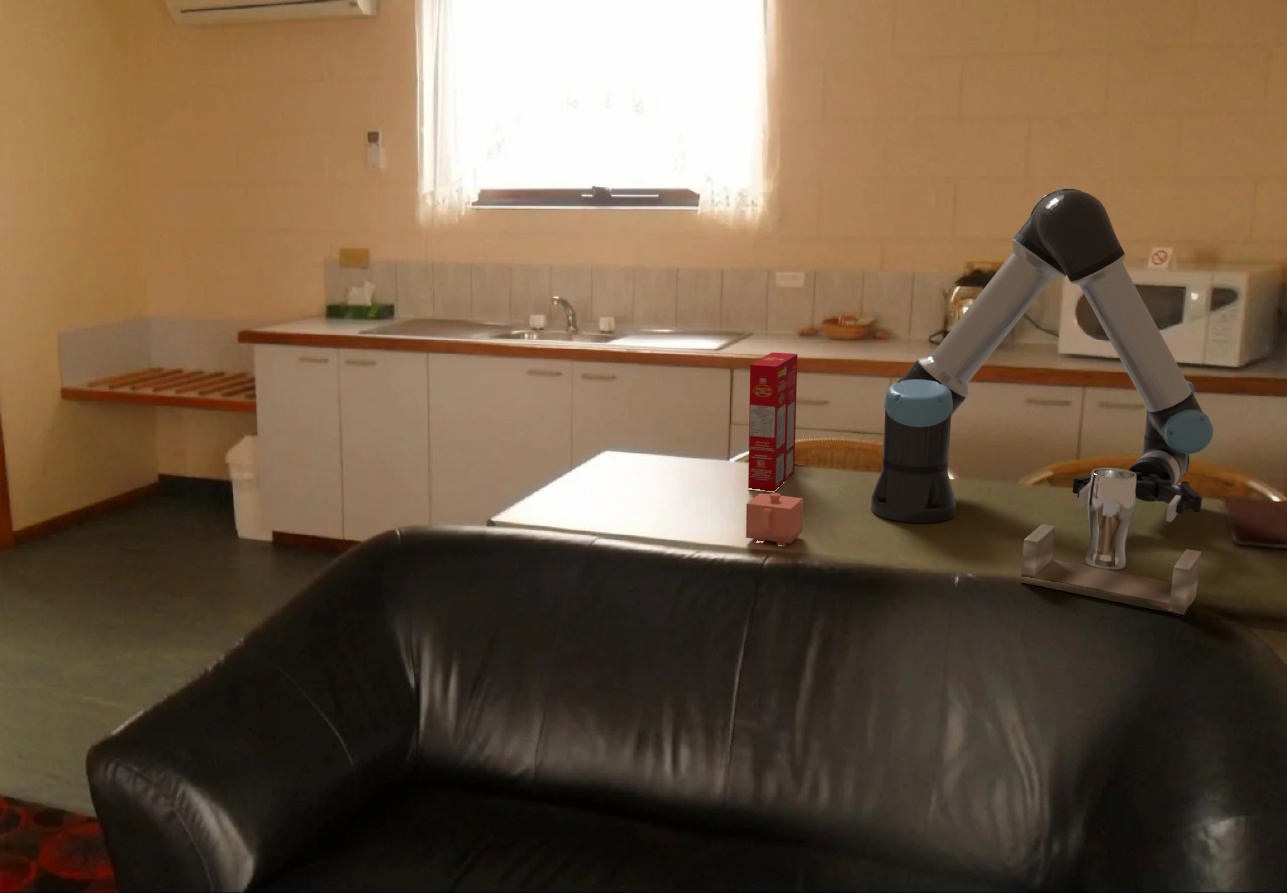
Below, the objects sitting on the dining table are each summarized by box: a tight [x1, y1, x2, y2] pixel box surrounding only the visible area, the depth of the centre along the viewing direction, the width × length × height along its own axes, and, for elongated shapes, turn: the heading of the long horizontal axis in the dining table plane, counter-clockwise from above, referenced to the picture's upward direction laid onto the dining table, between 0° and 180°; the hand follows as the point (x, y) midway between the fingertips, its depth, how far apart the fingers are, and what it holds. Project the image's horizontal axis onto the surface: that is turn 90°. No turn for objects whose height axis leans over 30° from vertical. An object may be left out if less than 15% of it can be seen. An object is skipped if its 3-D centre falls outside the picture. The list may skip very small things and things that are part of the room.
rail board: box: [1020, 523, 1202, 616], centre depth 170 cm, size 23×9×7 cm, turn 55°
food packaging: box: [747, 352, 798, 491], centre depth 225 cm, size 15×5×25 cm, turn 157°
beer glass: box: [1084, 467, 1137, 571], centre depth 180 cm, size 7×7×15 cm
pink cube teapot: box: [745, 492, 804, 546], centre depth 193 cm, size 8×12×8 cm, turn 155°
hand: (1124, 506), depth 184 cm, fingers open, 13 cm apart
